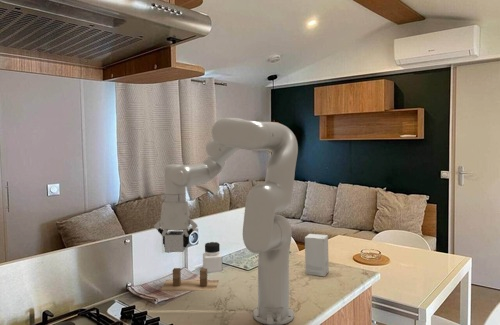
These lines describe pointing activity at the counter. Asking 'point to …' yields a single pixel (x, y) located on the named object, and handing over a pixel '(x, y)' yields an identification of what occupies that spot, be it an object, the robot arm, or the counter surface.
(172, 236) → the grey open box
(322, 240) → the skincare box
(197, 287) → the peg board
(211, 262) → the medicine bottle
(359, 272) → the counter surface
